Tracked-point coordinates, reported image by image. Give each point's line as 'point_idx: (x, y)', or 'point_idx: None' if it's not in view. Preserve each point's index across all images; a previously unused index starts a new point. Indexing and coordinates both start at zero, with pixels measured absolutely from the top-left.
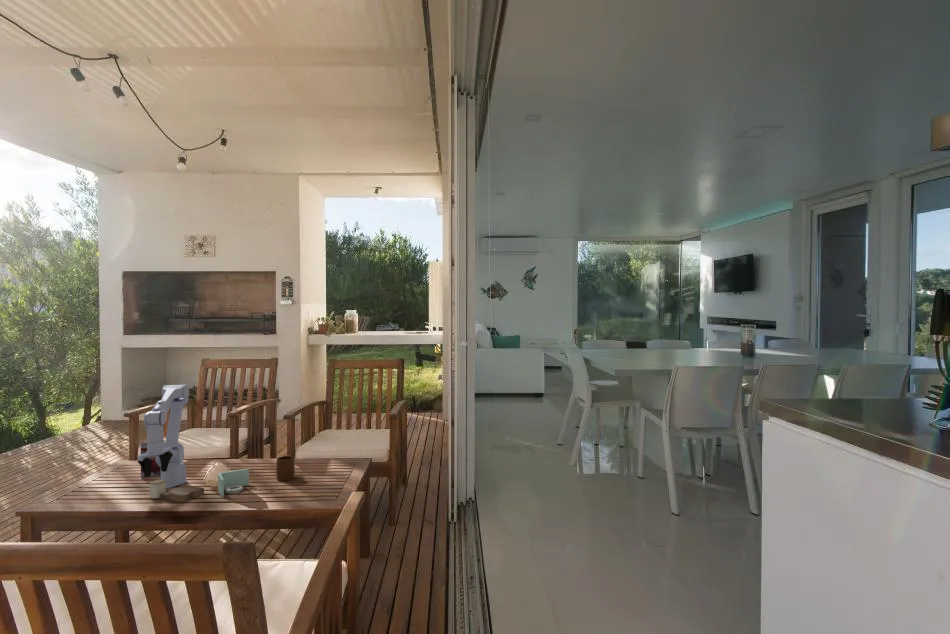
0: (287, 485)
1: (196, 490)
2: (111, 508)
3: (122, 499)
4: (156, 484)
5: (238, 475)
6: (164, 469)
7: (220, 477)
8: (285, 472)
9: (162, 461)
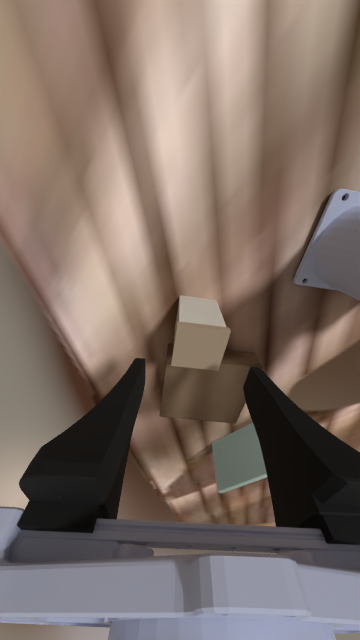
0: None
1: (211, 420)
2: (41, 248)
3: (134, 185)
4: (171, 360)
5: None
6: (248, 393)
7: (241, 483)
8: None
9: (278, 430)
